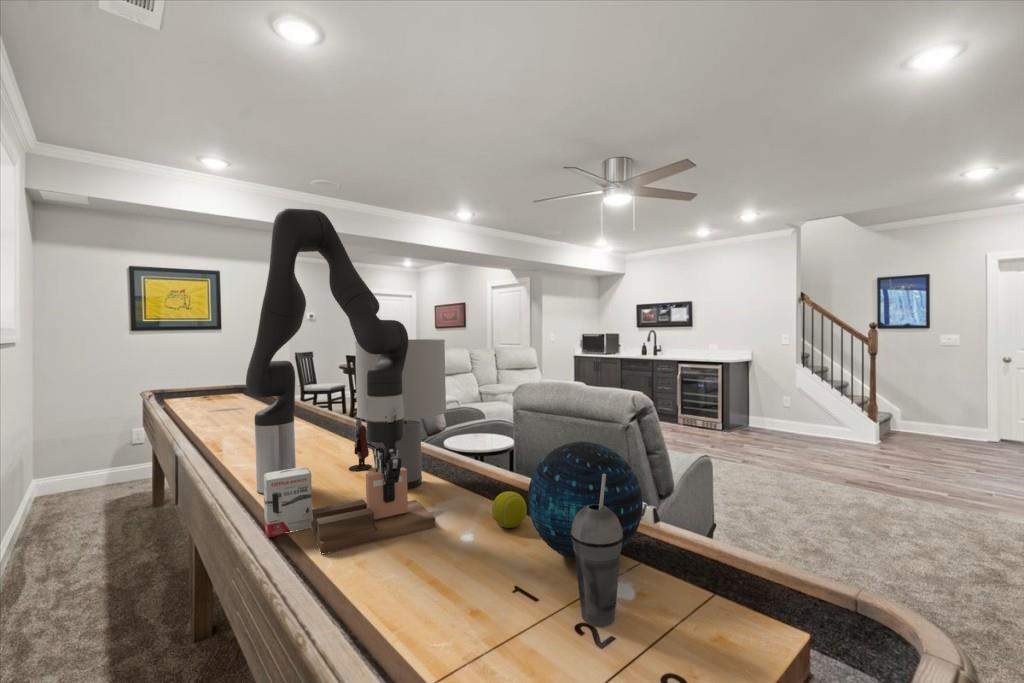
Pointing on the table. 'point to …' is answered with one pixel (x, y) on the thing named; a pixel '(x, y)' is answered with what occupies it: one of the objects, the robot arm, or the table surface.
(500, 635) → the table surface
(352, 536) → the block
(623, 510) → the decorative sphere
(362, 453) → the figurine
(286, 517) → the ink box
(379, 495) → the stub
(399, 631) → the table surface
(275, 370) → the robot arm
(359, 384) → the lamp
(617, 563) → the beverage cup
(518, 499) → the tennis ball
